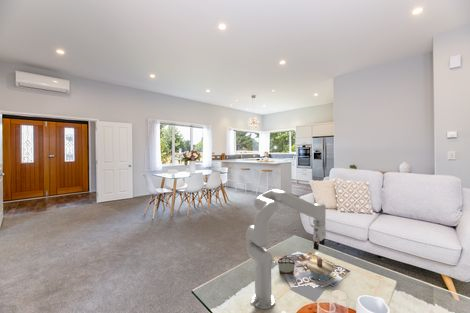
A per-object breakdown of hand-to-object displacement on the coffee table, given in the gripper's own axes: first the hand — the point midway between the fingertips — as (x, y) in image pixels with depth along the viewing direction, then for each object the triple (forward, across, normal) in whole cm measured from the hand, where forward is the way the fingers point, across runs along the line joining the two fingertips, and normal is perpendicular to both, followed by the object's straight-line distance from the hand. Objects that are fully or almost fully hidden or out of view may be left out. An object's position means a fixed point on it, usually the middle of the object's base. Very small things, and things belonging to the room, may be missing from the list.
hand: (319, 246), depth 143 cm
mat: (+21, -17, 0) cm, 27 cm away
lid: (+15, +1, 0) cm, 15 cm away
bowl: (+21, +1, 0) cm, 21 cm away
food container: (+21, -11, +19) cm, 30 cm away
